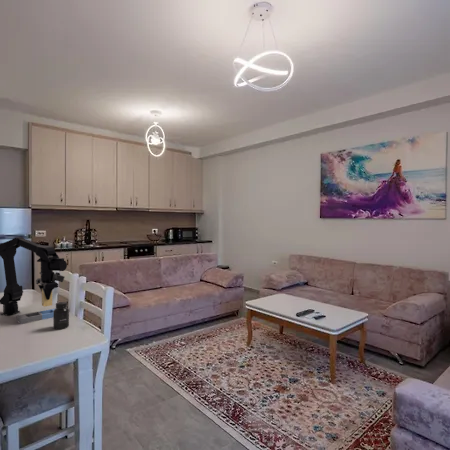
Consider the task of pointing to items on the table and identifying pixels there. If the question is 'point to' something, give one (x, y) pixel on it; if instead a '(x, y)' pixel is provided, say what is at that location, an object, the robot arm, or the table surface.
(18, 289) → the robot arm
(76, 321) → the table surface
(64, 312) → the supplement bottle
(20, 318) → the duct block
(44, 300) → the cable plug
